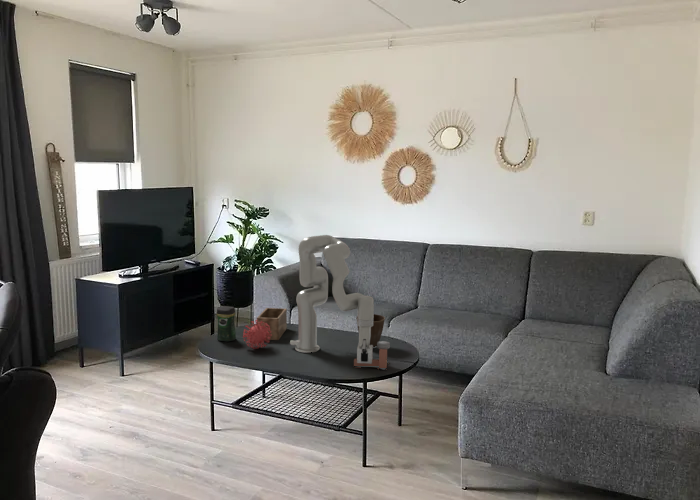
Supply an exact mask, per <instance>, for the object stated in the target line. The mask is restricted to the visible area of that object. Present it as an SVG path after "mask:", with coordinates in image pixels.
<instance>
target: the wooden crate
mask: <svg viewBox="0 0 700 500" xmlns="http://www.w3.org/2000/svg"><path fill="white" fill-rule="evenodd" d="M287 311H288V309H287V308H276V307H275V308H273V307H265V309H264V310H262V311H261V313H260V314H259V315H258V316H257V317H256V320H257V321H256V322H261V321H263V322H264V323H265V324H263V322H262V323H261V326H262V325H263V326H264V325H265V326H266V323H267V324H268V325H269V326H270V331H272V332H271V333H270V331H269V330H268V329H267V330H268V332H269V333H270V334H272V336H269V337H270V338H269V339H270V340H269V339H267V337H268V336H267V337H266V338H265V339H267V340H269V341H280V339H281V337H282V336H283V335H284V333H285V332H286V330H287V328H288V327H287V326H288V321H287V319H288V318H287V317H288V316H287ZM256 324H257V325H258V324H260V323H256ZM266 327H268V326H266ZM268 328H269V327H268ZM267 340H266V341H267Z"/></svg>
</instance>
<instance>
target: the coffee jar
mask: <svg viewBox="0 0 700 500" xmlns="http://www.w3.org/2000/svg"><path fill="white" fill-rule="evenodd" d="M235 316H236V308H235V306H228V305H226V306H225V305H220V306H218V307H217V309H216V317H217V333H216V334H217V335H216V336H217V338H216V339H217V341H220V342H234V341H235V340H236V339H237V331H236V325H235V323H236V322H235Z"/></svg>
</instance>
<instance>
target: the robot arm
mask: <svg viewBox="0 0 700 500" xmlns="http://www.w3.org/2000/svg"><path fill="white" fill-rule="evenodd" d="M318 253H323V256H324V259H325V262H326V264H327V266H328V268H329V271H330V273H331V275H332V278H333V279H332V283H331V284H332V285H331V286H332V288H331V289H332V290H331V292H332V296H333V299H334V302H335V303H336V306H337V307H338V309H339V310H340V311H341V312H350V311H353V310H357V316H356V317H357V319H356V326H357V325H358V326H359V332H358V344H359V347H361V346H362V351H361V362H368V353H367V349H368V347H369V344H370V335H371V327H372V326H373V315H374V311H375V310H374V309H375V308H374V307H375V305H374V302H375V301H374V298H373V296H370V295H365V294H362V293H361V292H360V293H359V292H354V293H349V294H346V292H345V288H344V281H345V279H346V278H347V276H349V274H350V272H351V271H350V269H349V266H348V264H347V262H346V259H349V257H350V255H351V249H350V247H349V246H348V245H347V243H346V242H344V241H342V240H340V239H338V238H336V237H334V236H333V235H329V234H322V235H314V236H313V235H312V236H308V237H305V238H302V240H301V241H300V242H299V244H298V256H299V283H300V286H302V287H304V288H306V289H303V290H300V291H299V292H298V293H297V295H296V298H295V299H296V304H297V305H296V306H297V318H298V321H297V322H298V323H297V324H298V325H297V326H298V327H297V328H298V331H297V334H298V336H297V337H298V338H297V339H296V340H292V339H291V340H290V342H289V344H290V345H291V346H294V347H295V351H297V352H299V353H305V354H311V352H312V353H316V352H318V351H319V350H320V348H321V347H320V345H318V343H317V340H318V338H317V337H318V336H317V335H318V318H317V317H318V316H317V315H318V314H317V312H316V310H315V307H318V306H321V305H323V304H325V303H326V302H327V301H328V298H329V297H328V296H329V275H328V271H327V270H326V269H325V268H324V267H323V266H318V265H317V258H316V256H315V254H318ZM311 287H312V288H311ZM358 326H357V327H358ZM366 346H367V347H366Z"/></svg>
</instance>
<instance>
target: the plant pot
mask: <svg viewBox="0 0 700 500" xmlns="http://www.w3.org/2000/svg"><path fill="white" fill-rule="evenodd" d="M385 319H386V317H385V316H383V315H380V314H376V313H375V314H374V315H373V326H372V327H371V335H370V344H369V345H373V347H375V346H377V342H380V341H381V337H382V334H383V330H384V326H385ZM356 320H357V316H356ZM356 326H357V331H358V333H359V326H358V325H357V324H356Z"/></svg>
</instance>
